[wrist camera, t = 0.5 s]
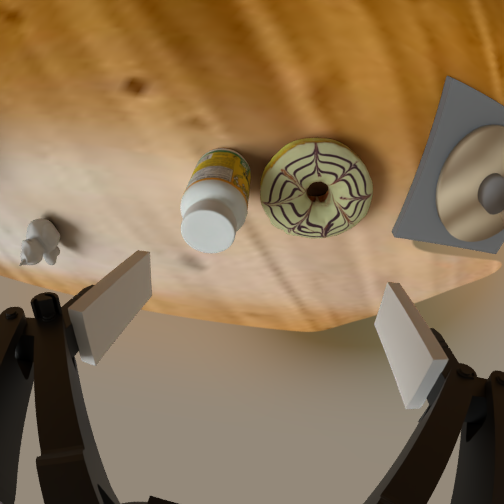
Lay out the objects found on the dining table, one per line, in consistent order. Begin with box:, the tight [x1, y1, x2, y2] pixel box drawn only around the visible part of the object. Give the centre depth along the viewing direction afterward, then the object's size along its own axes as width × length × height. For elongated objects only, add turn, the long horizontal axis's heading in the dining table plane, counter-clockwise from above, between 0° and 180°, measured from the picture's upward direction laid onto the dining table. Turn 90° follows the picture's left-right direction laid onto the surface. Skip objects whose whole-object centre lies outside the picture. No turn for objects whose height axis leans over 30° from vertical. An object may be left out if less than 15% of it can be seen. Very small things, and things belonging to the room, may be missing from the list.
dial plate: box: [392, 76, 504, 254], centre depth 26 cm, size 19×19×1 cm
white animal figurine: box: [19, 219, 60, 266], centre depth 31 cm, size 5×7×8 cm
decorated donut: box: [260, 138, 373, 238], centre depth 27 cm, size 10×11×4 cm
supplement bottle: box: [181, 148, 251, 253], centre depth 25 cm, size 5×5×10 cm
